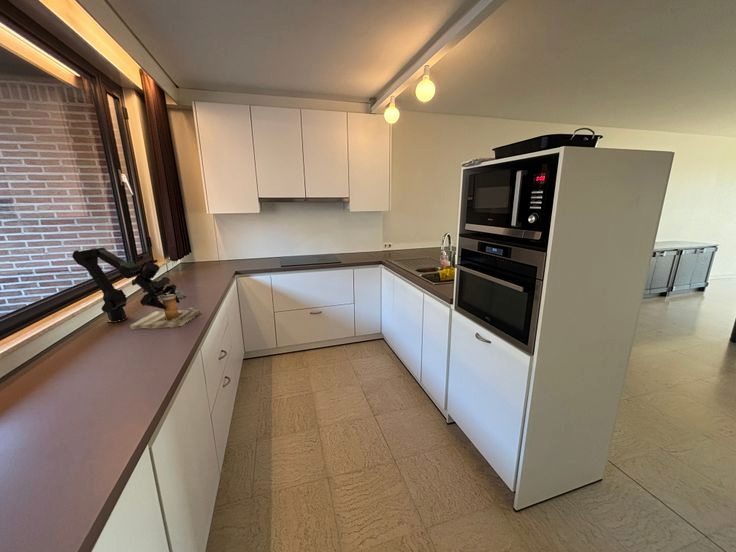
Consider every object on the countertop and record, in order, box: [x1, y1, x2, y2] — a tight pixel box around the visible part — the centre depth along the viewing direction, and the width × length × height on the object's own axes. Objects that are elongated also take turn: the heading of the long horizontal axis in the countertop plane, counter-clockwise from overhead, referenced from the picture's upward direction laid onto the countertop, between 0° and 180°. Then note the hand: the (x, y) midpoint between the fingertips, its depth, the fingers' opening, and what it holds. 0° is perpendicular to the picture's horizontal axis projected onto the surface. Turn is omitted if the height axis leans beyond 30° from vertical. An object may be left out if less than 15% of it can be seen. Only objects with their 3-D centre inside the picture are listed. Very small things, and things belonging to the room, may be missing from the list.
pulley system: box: [158, 289, 185, 304], centre depth 188 cm, size 27×5×15 cm
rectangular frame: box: [129, 309, 201, 330], centre depth 154 cm, size 24×18×2 cm
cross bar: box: [172, 307, 195, 323], centre depth 154 cm, size 2×16×2 cm, turn 1°
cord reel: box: [160, 294, 179, 321], centre depth 153 cm, size 6×6×13 cm
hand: (172, 305), depth 152 cm, fingers open, 9 cm apart
